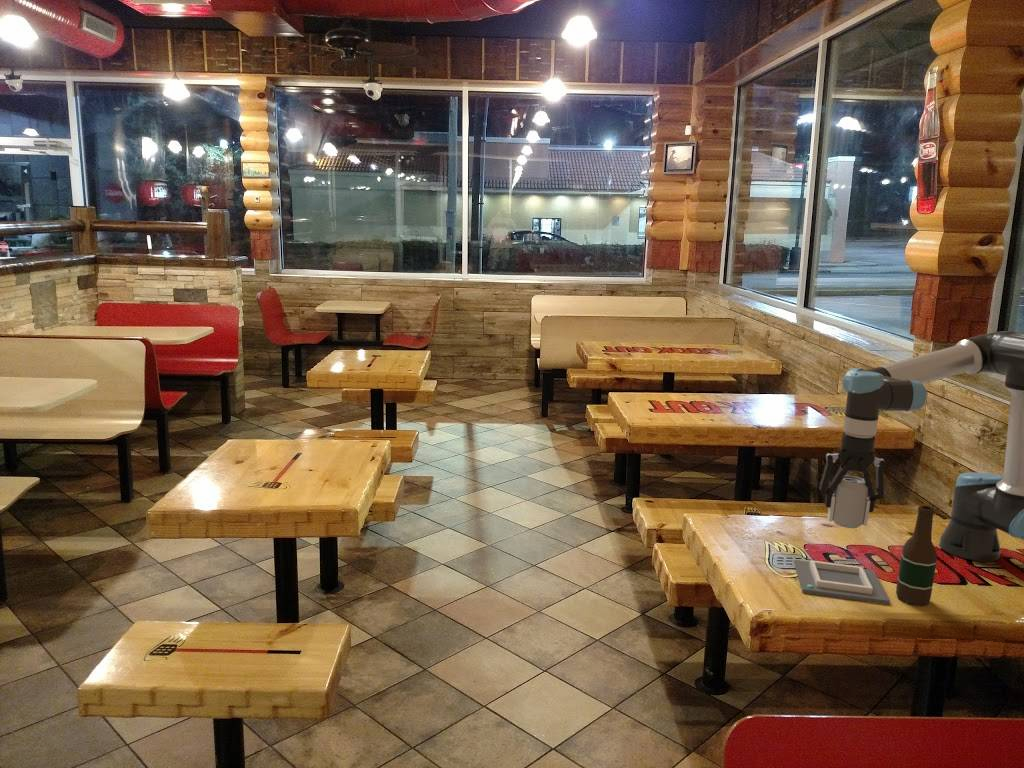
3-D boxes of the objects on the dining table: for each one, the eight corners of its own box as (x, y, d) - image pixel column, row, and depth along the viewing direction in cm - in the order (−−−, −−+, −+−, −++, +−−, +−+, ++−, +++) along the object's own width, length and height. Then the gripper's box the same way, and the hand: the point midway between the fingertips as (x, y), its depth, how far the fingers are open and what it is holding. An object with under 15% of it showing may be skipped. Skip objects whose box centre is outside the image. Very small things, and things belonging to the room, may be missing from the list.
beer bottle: (888, 592, 195) (902, 501, 190) (917, 592, 196) (932, 501, 191) (906, 606, 188) (921, 513, 183) (936, 606, 188) (952, 513, 184)
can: (856, 519, 199) (863, 475, 197) (867, 530, 192) (873, 484, 190) (826, 517, 200) (832, 472, 198) (835, 528, 193) (842, 482, 190)
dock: (873, 573, 206) (874, 564, 205) (889, 604, 188) (890, 595, 188) (793, 563, 210) (794, 554, 209) (802, 592, 193) (803, 583, 192)
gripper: (899, 434, 193) (886, 521, 197) (813, 426, 197) (802, 511, 202) (907, 442, 186) (893, 532, 190) (817, 433, 190) (806, 521, 195)
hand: (846, 521), depth 196 cm, fingers closed on can, 7 cm apart
